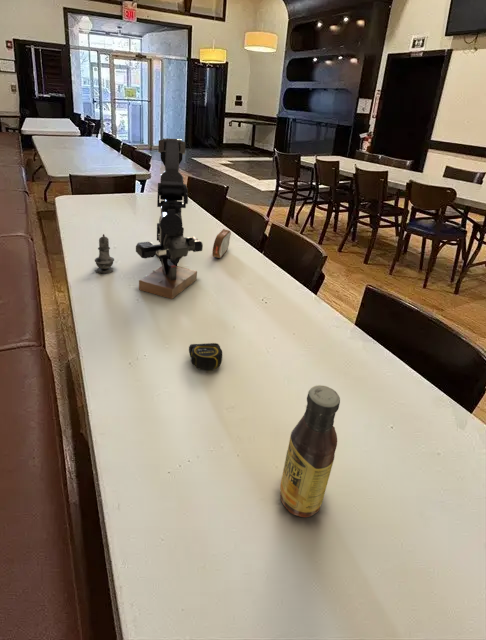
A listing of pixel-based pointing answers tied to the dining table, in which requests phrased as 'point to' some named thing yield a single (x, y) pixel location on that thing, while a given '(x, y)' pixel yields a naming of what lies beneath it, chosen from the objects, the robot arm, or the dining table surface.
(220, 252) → the brown white rounded block
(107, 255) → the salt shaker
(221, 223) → the dining table surface
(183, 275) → the wooden block
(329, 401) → the sauce bottle
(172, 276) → the dark grey block
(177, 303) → the dining table surface
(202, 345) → the tape measure
